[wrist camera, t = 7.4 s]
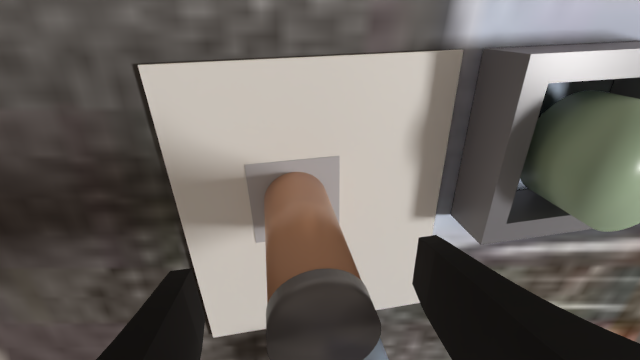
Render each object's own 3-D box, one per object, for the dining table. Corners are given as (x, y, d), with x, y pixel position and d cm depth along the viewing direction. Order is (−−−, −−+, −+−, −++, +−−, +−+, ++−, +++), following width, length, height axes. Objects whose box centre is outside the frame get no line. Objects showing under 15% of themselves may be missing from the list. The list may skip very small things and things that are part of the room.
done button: (595, 188, 15) (666, 223, 12) (505, 199, 14) (561, 238, 12) (638, 86, 13) (736, 103, 10) (536, 93, 12) (612, 113, 10)
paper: (418, 299, 19) (420, 303, 19) (213, 334, 17) (213, 338, 17) (460, 49, 12) (464, 49, 12) (139, 64, 11) (137, 65, 10)
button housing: (583, 197, 17) (630, 223, 15) (450, 214, 16) (480, 244, 14) (648, 40, 14) (723, 44, 12) (483, 48, 13) (531, 54, 10)
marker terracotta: (329, 221, 15) (380, 363, 9) (268, 231, 14) (275, 387, 8) (325, 166, 13) (382, 288, 7) (258, 175, 13) (257, 312, 7)
